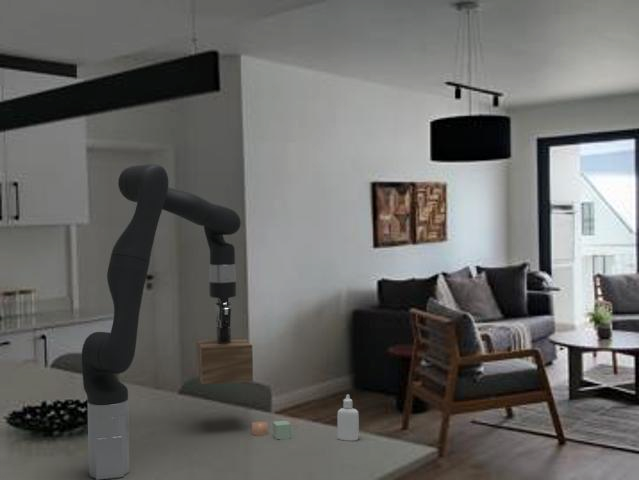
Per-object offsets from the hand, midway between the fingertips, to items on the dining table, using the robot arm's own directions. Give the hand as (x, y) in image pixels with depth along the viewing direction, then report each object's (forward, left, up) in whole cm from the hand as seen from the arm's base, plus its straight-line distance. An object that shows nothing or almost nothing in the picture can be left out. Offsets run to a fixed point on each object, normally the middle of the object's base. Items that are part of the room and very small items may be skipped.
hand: (223, 340), depth 208 cm
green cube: (-14, -13, -25) cm, 32 cm away
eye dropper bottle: (-22, -30, -25) cm, 45 cm away
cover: (0, 0, -11) cm, 11 cm away
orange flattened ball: (-9, -8, -25) cm, 28 cm away
